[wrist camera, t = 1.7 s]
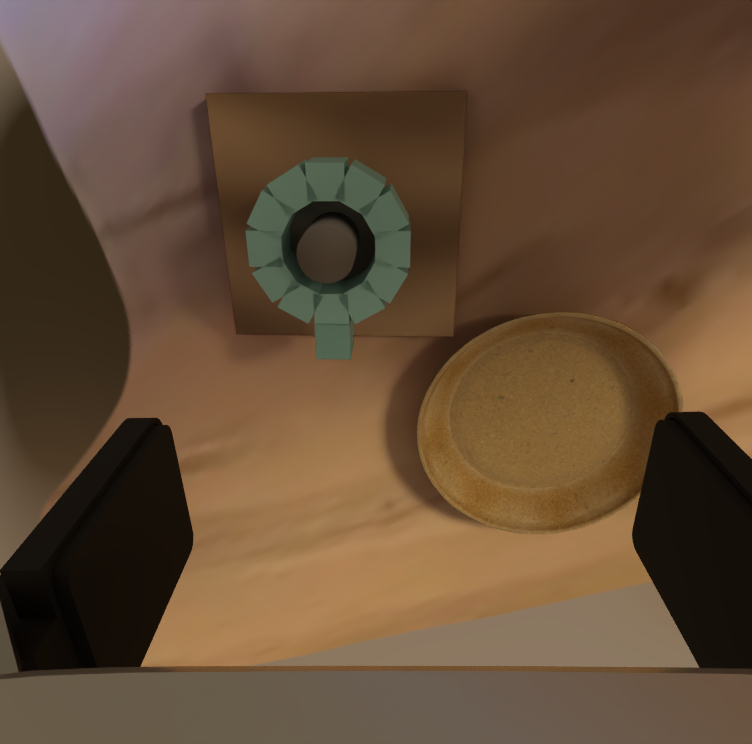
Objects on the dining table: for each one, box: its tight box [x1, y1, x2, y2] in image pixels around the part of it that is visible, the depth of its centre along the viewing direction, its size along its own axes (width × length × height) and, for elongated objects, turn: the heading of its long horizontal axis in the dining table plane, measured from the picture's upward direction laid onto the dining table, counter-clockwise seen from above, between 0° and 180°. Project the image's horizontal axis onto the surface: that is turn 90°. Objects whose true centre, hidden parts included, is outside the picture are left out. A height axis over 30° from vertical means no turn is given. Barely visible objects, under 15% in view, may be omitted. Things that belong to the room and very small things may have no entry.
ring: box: [246, 157, 411, 360], centre depth 26 cm, size 9×7×2 cm
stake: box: [206, 91, 467, 337], centre depth 26 cm, size 12×12×7 cm
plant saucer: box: [417, 312, 683, 534], centre depth 33 cm, size 15×15×3 cm
